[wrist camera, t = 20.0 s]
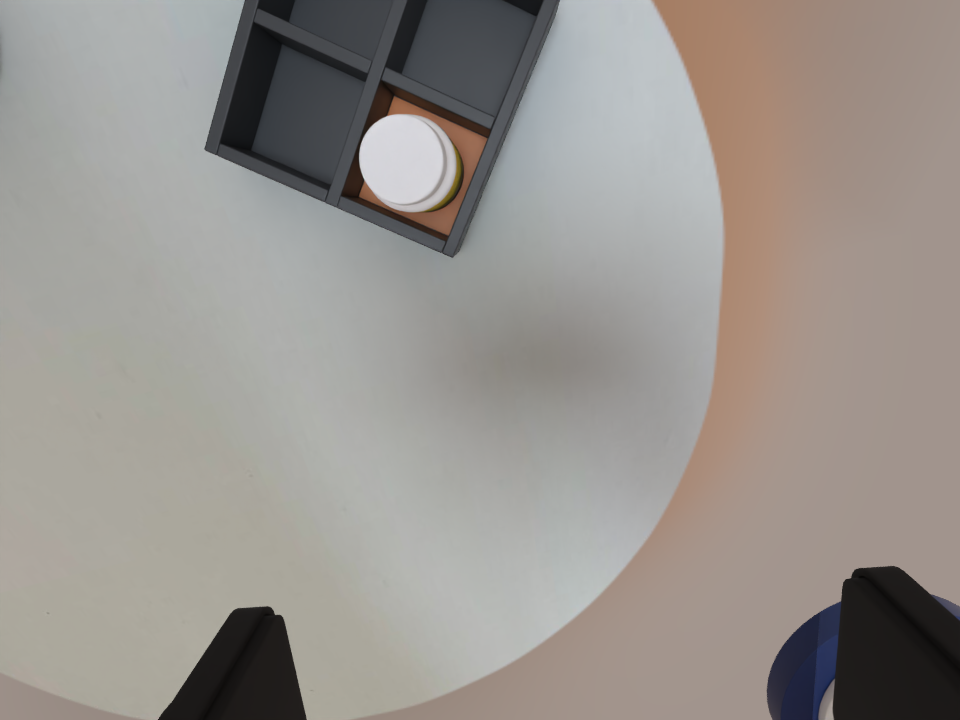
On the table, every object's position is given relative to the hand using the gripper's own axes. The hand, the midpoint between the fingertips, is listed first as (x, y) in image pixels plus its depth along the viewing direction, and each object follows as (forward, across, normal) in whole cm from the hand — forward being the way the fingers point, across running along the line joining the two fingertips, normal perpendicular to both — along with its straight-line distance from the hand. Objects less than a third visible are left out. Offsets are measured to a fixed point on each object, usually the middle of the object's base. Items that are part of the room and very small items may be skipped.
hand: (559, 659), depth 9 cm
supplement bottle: (+28, +4, -10) cm, 30 cm away
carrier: (+28, +6, -15) cm, 33 cm away
